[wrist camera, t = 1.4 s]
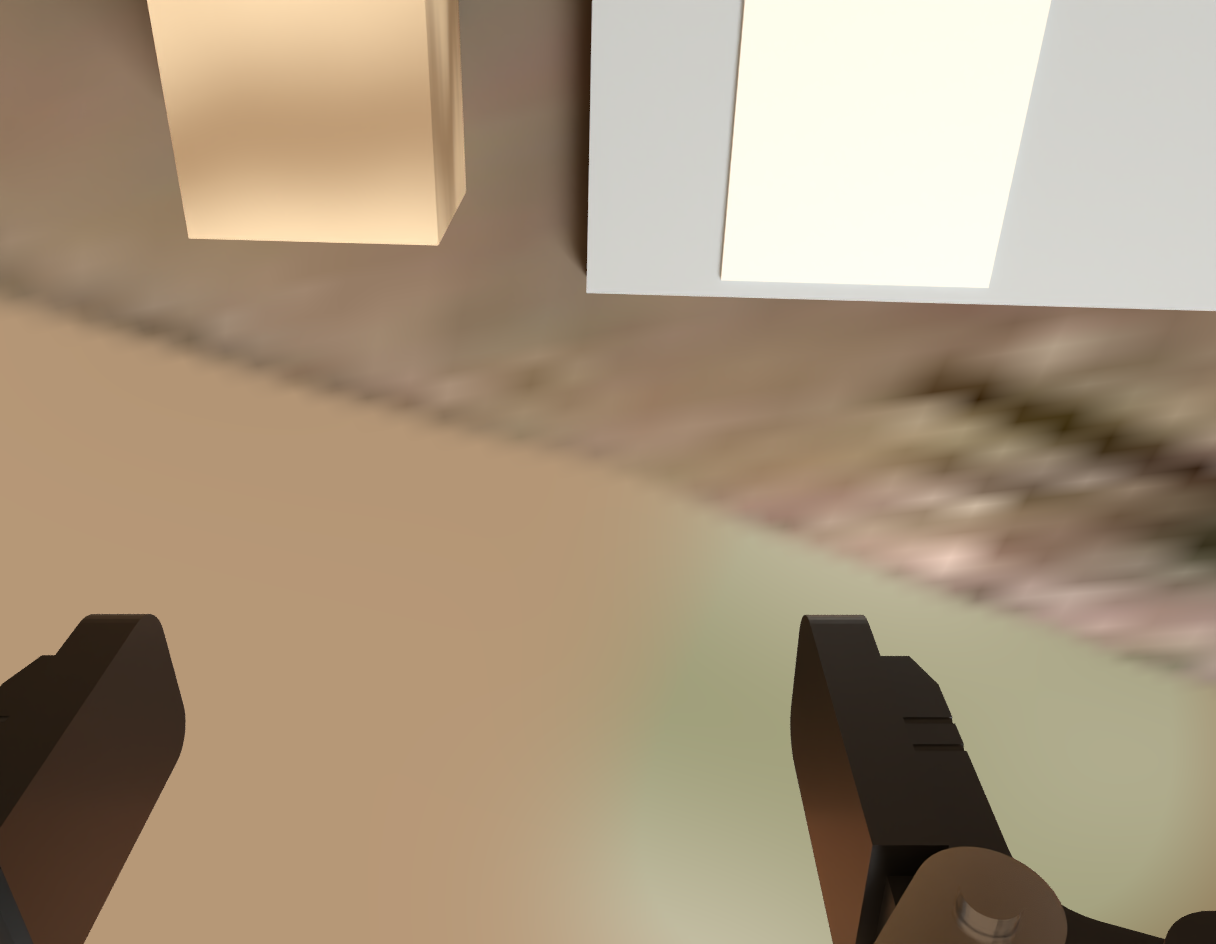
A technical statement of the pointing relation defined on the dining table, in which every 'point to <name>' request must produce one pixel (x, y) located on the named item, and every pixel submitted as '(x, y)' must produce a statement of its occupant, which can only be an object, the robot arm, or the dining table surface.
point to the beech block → (314, 117)
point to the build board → (905, 151)
